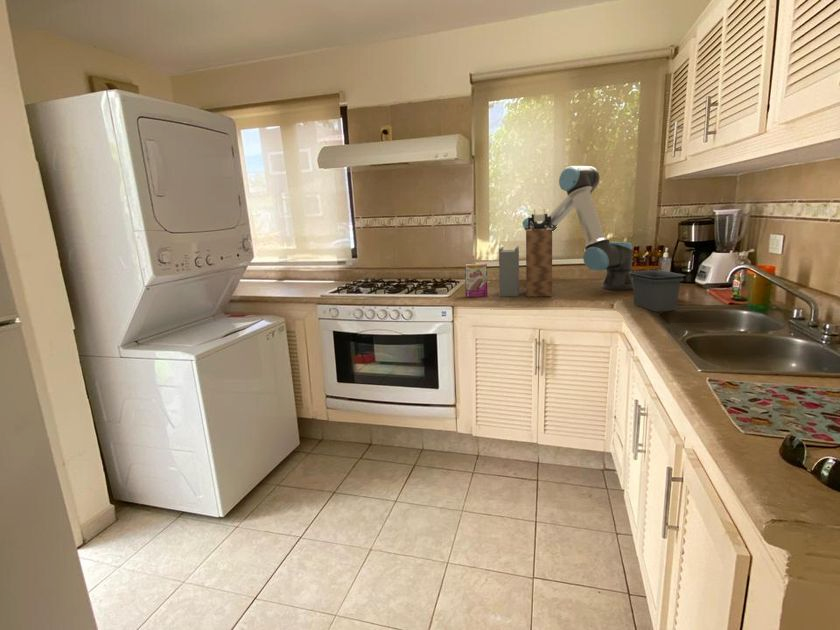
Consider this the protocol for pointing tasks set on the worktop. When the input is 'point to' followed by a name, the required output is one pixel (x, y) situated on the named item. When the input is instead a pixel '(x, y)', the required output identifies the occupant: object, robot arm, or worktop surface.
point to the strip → (539, 217)
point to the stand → (539, 262)
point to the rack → (509, 272)
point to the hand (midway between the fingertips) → (539, 211)
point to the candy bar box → (476, 280)
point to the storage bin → (656, 289)
